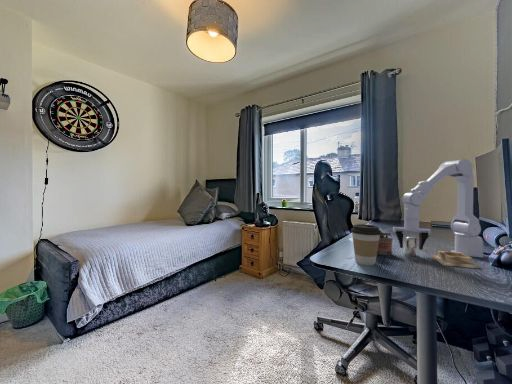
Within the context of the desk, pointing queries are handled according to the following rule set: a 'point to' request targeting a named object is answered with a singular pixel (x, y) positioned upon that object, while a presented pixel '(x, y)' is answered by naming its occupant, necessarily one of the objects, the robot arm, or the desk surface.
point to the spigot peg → (411, 246)
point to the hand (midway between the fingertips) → (410, 248)
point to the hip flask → (385, 244)
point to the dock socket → (455, 259)
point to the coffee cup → (365, 243)
